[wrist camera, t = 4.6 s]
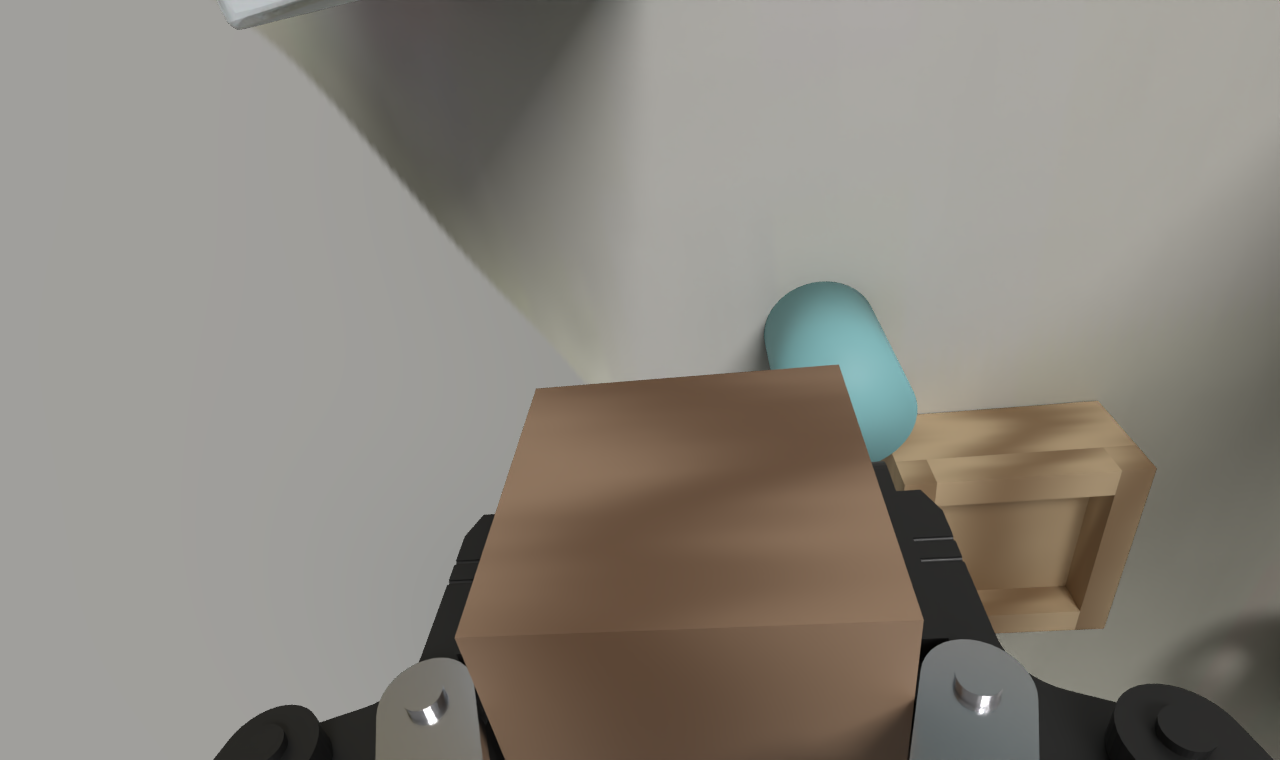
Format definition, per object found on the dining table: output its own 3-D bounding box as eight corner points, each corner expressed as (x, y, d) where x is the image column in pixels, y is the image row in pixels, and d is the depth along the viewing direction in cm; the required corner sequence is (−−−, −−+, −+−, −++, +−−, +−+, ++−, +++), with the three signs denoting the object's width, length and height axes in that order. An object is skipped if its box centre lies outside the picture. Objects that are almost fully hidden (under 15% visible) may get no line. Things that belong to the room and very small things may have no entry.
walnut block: (838, 364, 12) (924, 620, 7) (835, 579, 14) (895, 857, 10) (535, 388, 12) (454, 636, 8) (586, 590, 15) (545, 856, 11)
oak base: (1097, 400, 30) (1156, 468, 26) (1058, 553, 35) (1103, 628, 31) (877, 417, 31) (904, 485, 27) (868, 563, 36) (890, 638, 32)
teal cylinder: (877, 276, 28) (922, 356, 23) (872, 372, 30) (912, 465, 25) (762, 287, 28) (780, 368, 23) (765, 381, 30) (783, 473, 25)
